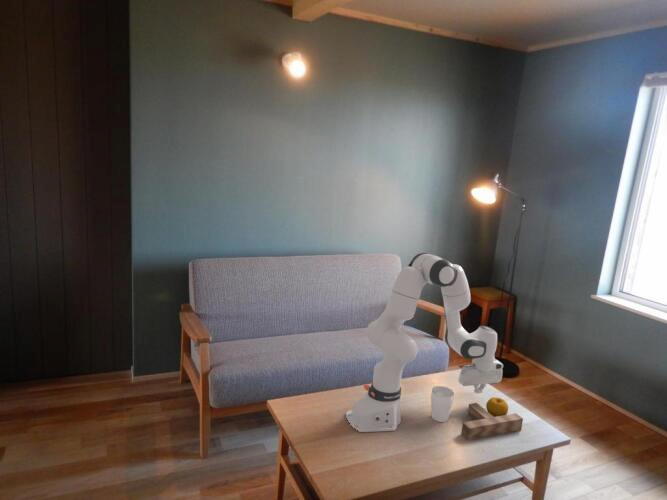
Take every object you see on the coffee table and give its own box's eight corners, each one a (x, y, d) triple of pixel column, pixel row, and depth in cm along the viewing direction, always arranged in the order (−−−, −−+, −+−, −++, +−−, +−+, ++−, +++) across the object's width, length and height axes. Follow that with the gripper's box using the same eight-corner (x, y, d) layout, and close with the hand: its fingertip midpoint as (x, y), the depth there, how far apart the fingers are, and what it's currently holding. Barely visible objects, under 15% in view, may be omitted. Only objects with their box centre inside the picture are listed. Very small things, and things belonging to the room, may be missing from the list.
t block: (467, 440, 175) (469, 428, 174) (445, 418, 189) (446, 407, 188) (521, 429, 184) (523, 418, 183) (496, 409, 198) (497, 399, 197)
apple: (480, 416, 192) (483, 397, 190) (492, 410, 197) (495, 391, 196) (498, 426, 186) (501, 406, 184) (510, 420, 191) (513, 400, 189)
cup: (424, 413, 191) (427, 387, 189) (442, 410, 195) (445, 384, 193) (437, 425, 183) (440, 398, 181) (455, 422, 187) (458, 395, 185)
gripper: (466, 368, 191) (462, 398, 193) (506, 364, 198) (501, 394, 200) (458, 361, 197) (453, 391, 199) (497, 358, 204) (492, 387, 206)
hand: (478, 392), depth 200 cm, fingers closed
